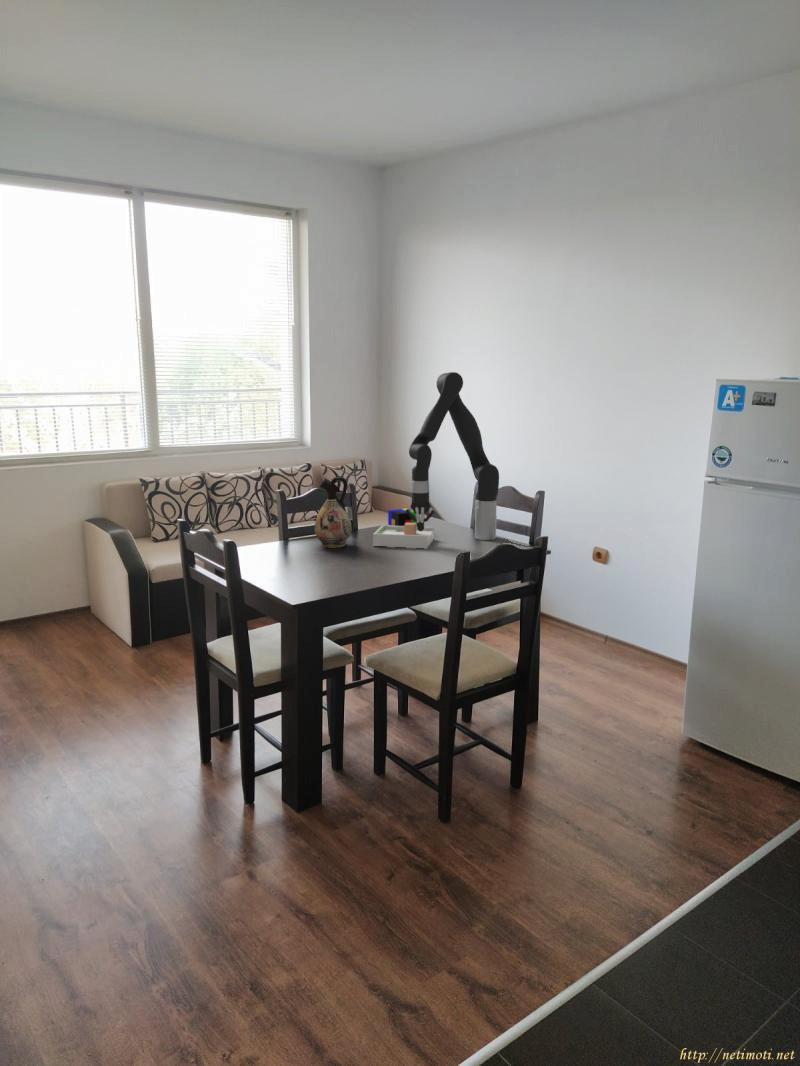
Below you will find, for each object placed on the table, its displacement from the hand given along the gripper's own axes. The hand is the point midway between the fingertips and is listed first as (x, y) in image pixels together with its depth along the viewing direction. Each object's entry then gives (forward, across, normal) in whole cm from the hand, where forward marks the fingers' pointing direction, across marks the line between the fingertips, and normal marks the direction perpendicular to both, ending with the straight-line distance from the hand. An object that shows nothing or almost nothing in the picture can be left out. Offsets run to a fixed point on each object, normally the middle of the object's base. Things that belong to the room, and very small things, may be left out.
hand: (420, 530), depth 327 cm
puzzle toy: (+6, +12, -21) cm, 25 cm away
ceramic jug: (+5, +35, +11) cm, 37 cm away
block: (+2, +4, 0) cm, 5 cm away
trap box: (+6, +7, 0) cm, 9 cm away
